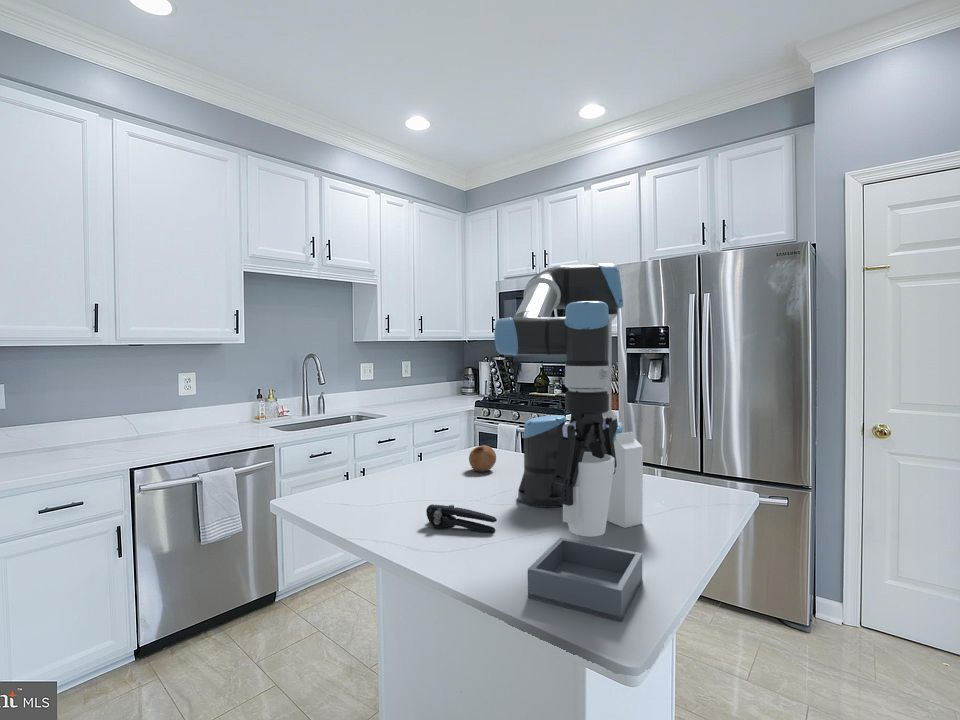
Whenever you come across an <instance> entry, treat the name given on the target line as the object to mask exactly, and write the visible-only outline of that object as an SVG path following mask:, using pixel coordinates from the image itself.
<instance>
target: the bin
mask: <svg viewBox="0 0 960 720" xmlns="http://www.w3.org/2000/svg"><path fill="white" fill-rule="evenodd" d="M642 581H643V553H642V552H636V551H633V550H632V551H631V550H626V549H622V548H618V547H617V548H616V547H611V546H605V545H601V544H594V543H592V542H591V543H589V542H584V541H578V540H575V539H568V538H564V537H563V538H562V537H559V538H558V539H557V540H556V541H555V542H554V543H553V544H552V545H551V546H550V547H549V548H548V549H547V550H546V551H545V552H544V553H543V554H541V555H540V556H539V558H538V559H536V560H535V561H534V562H533V563H532V564H531V565H530V566H529V567H528V568H527V598H528V599H531V600H536V601H539V602H543V603H546V604H547V603H548V604H551V605H556V606H558V607H561V608H566V609H570V610H572V611H573V610H574V611H578V612H582V613H585V614H588V615H589V614H590V615H593V616H597V617H600V618H604V619H605V618H606V619H609V620H612V621H616V622H621V623H622V621H623V619H624V617H625V615H626V613H627V611H628V610H629V607H630V605H631V603H632V601H633V600H634V597H635V596H636V593H638V590H639V588H640V586H641V583H642Z"/></svg>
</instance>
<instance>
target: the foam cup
mask: <svg viewBox="0 0 960 720" xmlns="http://www.w3.org/2000/svg"><path fill="white" fill-rule="evenodd" d="M614 471H615V458H614V457H612V456H611V455H607V454H605V455H604V457H603V458H601V459H600V458H597V457H595V456H593V455H592V452H584V455H583V458H582V462H579V473H578V477H577V480H576V484H575V485H576V486H579V524H578V525H573V524H570V523H567V526H568V531H569V532H570V533H573V534H574V535H577V536H581V537H591V538H592V537H599V536H602V535H604V534H605V532H606V528H607V522H608V521H607V515H608V508H609V500H610V493H611V485H612V478H613V473H614ZM570 478H571V477H570Z"/></svg>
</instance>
